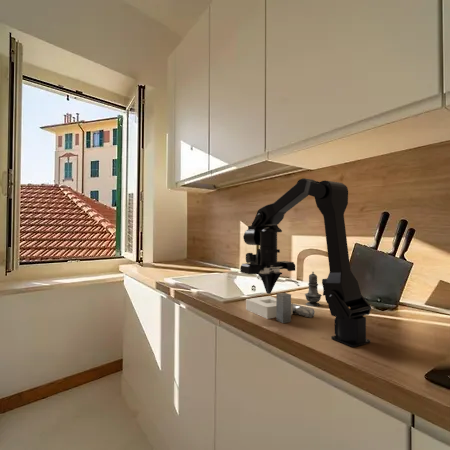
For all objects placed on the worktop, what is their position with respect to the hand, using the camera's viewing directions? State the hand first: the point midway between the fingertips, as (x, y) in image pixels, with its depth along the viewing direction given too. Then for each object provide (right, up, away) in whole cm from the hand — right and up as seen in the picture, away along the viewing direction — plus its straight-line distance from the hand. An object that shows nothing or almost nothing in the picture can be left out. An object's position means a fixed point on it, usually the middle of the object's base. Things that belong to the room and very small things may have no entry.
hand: (268, 293), depth 97 cm
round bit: (+11, -5, -2) cm, 12 cm away
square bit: (+3, -6, -10) cm, 12 cm away
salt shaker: (+18, -6, +9) cm, 21 cm away
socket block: (0, -6, 0) cm, 6 cm away
